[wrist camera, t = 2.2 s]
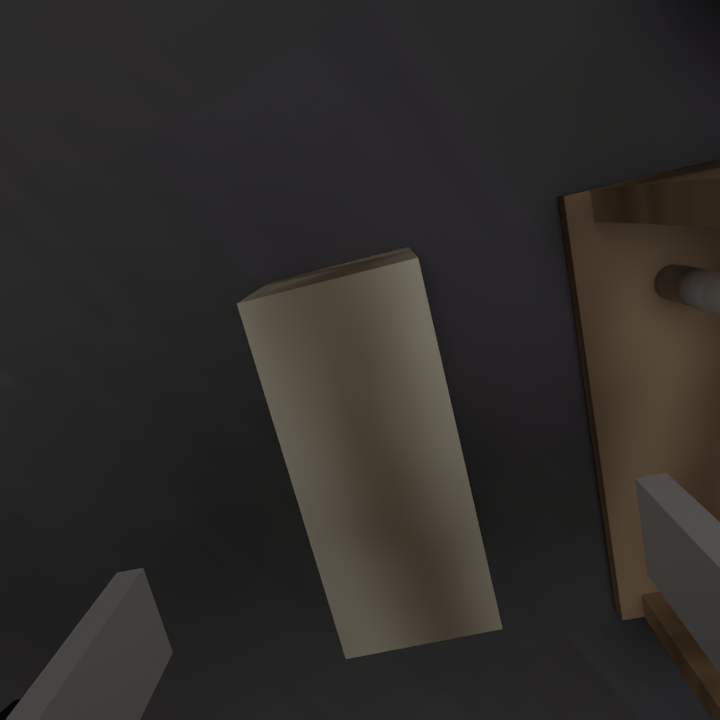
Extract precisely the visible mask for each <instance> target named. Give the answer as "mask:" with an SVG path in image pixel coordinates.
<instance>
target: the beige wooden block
mask: <svg viewBox="0 0 720 720" xmlns="http://www.w3.org/2000/svg"><path fill="white" fill-rule="evenodd" d="M237 306H238V309H239V312H240V316H241V319H242V322H243V325H244V329H245V332H246V335H247V338H248V342H249V345H250V348H251V352H252V355H253V358H254V361H255V365H256V368H257V371H258V374H259V378H260V381H261V384H262V387H263V391H264V394H265V397H266V400H267V404H268V407H269V410H270V413H271V417H272V420H273V423H274V427H275V430H276V433H277V436H278V440H279V443H280V446H281V449H282V453H283V456H284V459H285V462H286V466H287V469H288V472H289V475H290V479H291V482H292V485H293V489H294V492H295V495H296V498H297V502H298V505H299V508H300V511H301V515H302V518H303V521H304V524H305V528H306V531H307V534H308V537H309V541H310V544H311V547H312V550H313V554H314V557H315V560H316V564H317V567H318V570H319V573H320V577H321V580H322V583H323V586H324V590H325V593H326V596H327V599H328V603H329V606H330V609H331V612H332V616H333V619H334V622H335V625H336V629H337V632H338V635H339V639H340V642H341V645H342V648H343V652H344V655H345V658H346V659H349V658H354V657H360V656H365V655H370V654H375V653H380V652H386V651H391V650H396V649H401V648H406V647H412V646H417V645H422V644H427V643H432V642H438V641H443V640H448V639H453V638H458V637H464V636H469V635H474V634H479V633H484V632H490V631H495V630H500V629H502V625H501V620H500V616H499V612H498V607H497V603H496V598H495V594H494V590H493V585H492V581H491V576H490V572H489V568H488V563H487V559H486V554H485V550H484V546H483V541H482V537H481V532H480V528H479V524H478V519H477V515H476V511H475V506H474V502H473V497H472V493H471V489H470V484H469V480H468V475H467V471H466V467H465V462H464V458H463V453H462V449H461V445H460V440H459V436H458V431H457V427H456V423H455V418H454V414H453V409H452V405H451V401H450V396H449V392H448V388H447V383H446V379H445V374H444V370H443V366H442V361H441V357H440V352H439V348H438V344H437V339H436V335H435V330H434V326H433V322H432V317H431V313H430V308H429V304H428V300H427V295H426V291H425V286H424V282H423V278H422V273H421V269H420V264H419V260H418V257H417V256H416V255H415V254H414V253H413V251H412V250H411V249H410V248H409V247H407V248H403V249H399V250H395V251H391V252H387V253H383V254H379V255H375V256H372V257H368V258H364V259H360V260H356V261H352V262H348V263H344V264H340V265H336V266H332V267H328V268H324V269H321V270H317V271H313V272H309V273H305V274H301V275H297V276H293V277H289V278H285V279H281V280H277V281H274V282H270V283H268V284H266V285H265V286H263V287H262V288H260V289H259V290H257V291H255V292H254V293H252V294H251V295H249V296H248V297H246V298H245V299H243V300H242V301H240V302H238V303H237Z"/></svg>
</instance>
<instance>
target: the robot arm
mask: <svg viewBox="0 0 720 720" xmlns="http://www.w3.org/2000/svg"><path fill="white" fill-rule="evenodd" d="M635 483H636V491H637V498H638V506H639V514H640V522H641V530H642V538H643V545H644V553H645V561H646V569H647V574H648V576H649V577H650V578H651V580H652V581H653V583H654V584H655V585H656V587H657V588H658V589H659V591H660V592H661V594H662V595H663V596H664V598H665V599H666V600H667V602H668V603H669V605H670V606H671V607H672V609H673V610H674V611H675V613H676V614H677V616H678V617H679V618H680V620H681V621H682V622H683V624H684V625H685V627H686V628H687V629H688V631H689V632H690V633H691V635H692V636H693V638H694V639H695V640H696V642H697V643H698V644H699V646H700V647H701V649H702V650H703V651H704V653H705V654H706V655H707V657H708V658H709V660H710V661H711V662H712V664H713V665H714V666H715V668H716V669H717V671H718V672H719V673H720V522H719V521H718V520H717V519H716V518H715V517H714V516H713V515H712V514H711V513H710V512H708V511H707V510H706V509H705V508H704V507H703V506H702V505H701V504H700V503H699V502H698V501H696V500H695V499H694V498H693V497H692V496H691V495H690V494H689V493H688V492H687V491H686V490H685V489H683V488H682V487H681V486H680V485H679V484H678V483H677V482H676V481H675V480H674V479H673V478H671V477H670V476H669V475H668V474H667V473H662V474H656V475H651V476H645V477H640V478H635ZM172 653H173V652H172V649H171V646H170V643H169V640H168V637H167V635H166V632H165V629H164V626H163V623H162V620H161V617H160V615H159V612H158V609H157V606H156V603H155V600H154V598H153V595H152V592H151V589H150V586H149V583H148V580H147V578H146V575H145V572H144V569H143V568H140V569H134V570H129V571H123V572H118V573H116V574H115V576H114V577H113V578H112V580H111V581H110V582H109V584H108V585H107V586H106V588H105V589H104V590H103V592H102V593H101V594H100V596H99V597H98V598H97V600H96V601H95V602H94V603H93V605H92V606H91V607H90V609H89V610H88V611H87V613H86V614H85V615H84V617H83V618H82V619H81V621H80V622H79V623H78V625H77V626H76V627H75V629H74V630H73V631H72V633H71V634H70V635H69V637H68V638H67V639H66V640H65V642H64V643H63V644H62V646H61V647H60V648H59V650H58V651H57V652H56V654H55V655H54V656H53V658H52V659H51V660H50V662H49V663H48V664H47V666H46V667H45V668H44V670H43V671H42V672H41V674H40V675H39V676H38V677H37V679H36V680H35V681H34V683H33V684H32V685H31V687H30V688H29V689H28V691H27V692H26V693H25V695H24V696H23V697H22V699H19V700H14V701H13V702H12V703H11V704H10V705H9V706H8V707H6V708H5V709H4V710H3V711H2V712H1V713H0V720H140V719H141V717H142V715H143V713H144V711H145V709H146V706H147V704H148V702H149V700H150V698H151V696H152V694H153V692H154V690H155V688H156V686H157V684H158V682H159V680H160V678H161V676H162V674H163V672H164V670H165V668H166V666H167V664H168V662H169V660H170V657H171V655H172Z"/></svg>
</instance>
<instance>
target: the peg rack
mask: <svg viewBox="0 0 720 720" xmlns="http://www.w3.org/2000/svg"><path fill="white" fill-rule="evenodd" d="M558 203H559V210H560V217H561V224H562V231H563V238H564V245H565V253H566V260H567V267H568V274H569V281H570V288H571V295H572V302H573V309H574V316H575V324H576V331H577V338H578V345H579V352H580V359H581V366H582V373H583V380H584V388H585V395H586V402H587V409H588V416H589V423H590V430H591V437H592V444H593V451H594V459H595V466H596V473H597V480H598V487H599V494H600V501H601V508H602V515H603V522H604V530H605V537H606V544H607V551H608V558H609V565H610V572H611V579H612V586H613V593H614V601H615V608H616V610H617V612H618V614H619V615H620V617H621V619H622V620H627V619H633V618H639V617H645V618H646V620H647V621H648V623H649V624H650V626H651V627H652V629H653V630H654V632H655V634H656V635H657V637H658V638H659V640H660V641H661V643H662V644H663V646H664V647H665V649H666V650H667V652H668V653H669V655H670V656H671V658H672V659H673V661H674V663H675V664H676V666H677V667H678V669H679V670H680V672H681V673H682V675H683V676H684V678H685V679H686V681H687V682H688V684H689V685H690V687H691V688H692V690H693V691H694V693H695V695H696V696H697V698H698V699H699V701H700V702H701V704H702V705H703V707H704V708H705V710H706V711H707V713H708V714H709V716H710V717H711V719H712V720H720V673H719V672H718V671H717V669H716V668H715V666H714V665H713V664H712V662H711V661H710V660H709V658H708V657H707V655H706V654H705V653H704V651H703V650H702V649H701V647H700V646H699V644H698V643H697V642H696V640H695V639H694V638H693V636H692V635H691V633H690V632H689V631H688V629H687V628H686V627H685V625H684V624H683V622H682V621H681V620H680V618H679V617H678V616H677V614H676V613H675V611H674V610H673V609H672V607H671V606H670V605H669V603H668V602H667V600H666V599H665V598H664V596H663V595H662V594H661V592H660V591H659V589H658V588H657V587H656V585H655V584H654V583H653V581H652V580H651V578H650V577H649V576H648V574H647V569H646V561H645V553H644V545H643V538H642V530H641V522H640V514H639V506H638V498H637V491H636V483H635V478H640V477H645V476H651V475H656V474H662V473H667V474H668V475H669V476H670V477H671V478H673V479H674V480H675V481H676V482H677V483H678V484H679V485H680V486H681V487H682V488H683V489H685V490H686V491H687V492H688V493H689V494H690V495H691V496H692V497H693V498H694V499H695V500H696V501H698V502H699V503H700V504H701V505H702V506H703V507H704V508H705V509H706V510H707V511H708V512H710V513H711V514H712V515H713V516H714V517H715V518H716V519H717V520H718V521H719V522H720V159H719V160H715V161H711V162H706V163H702V164H698V165H693V166H689V167H685V168H680V169H676V170H672V171H667V172H663V173H659V174H654V175H650V176H646V177H641V178H637V179H633V180H628V181H624V182H620V183H615V184H611V185H607V186H602V187H598V188H594V189H589V190H585V191H581V192H576V193H572V194H568V195H563V196H559V197H558Z"/></svg>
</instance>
